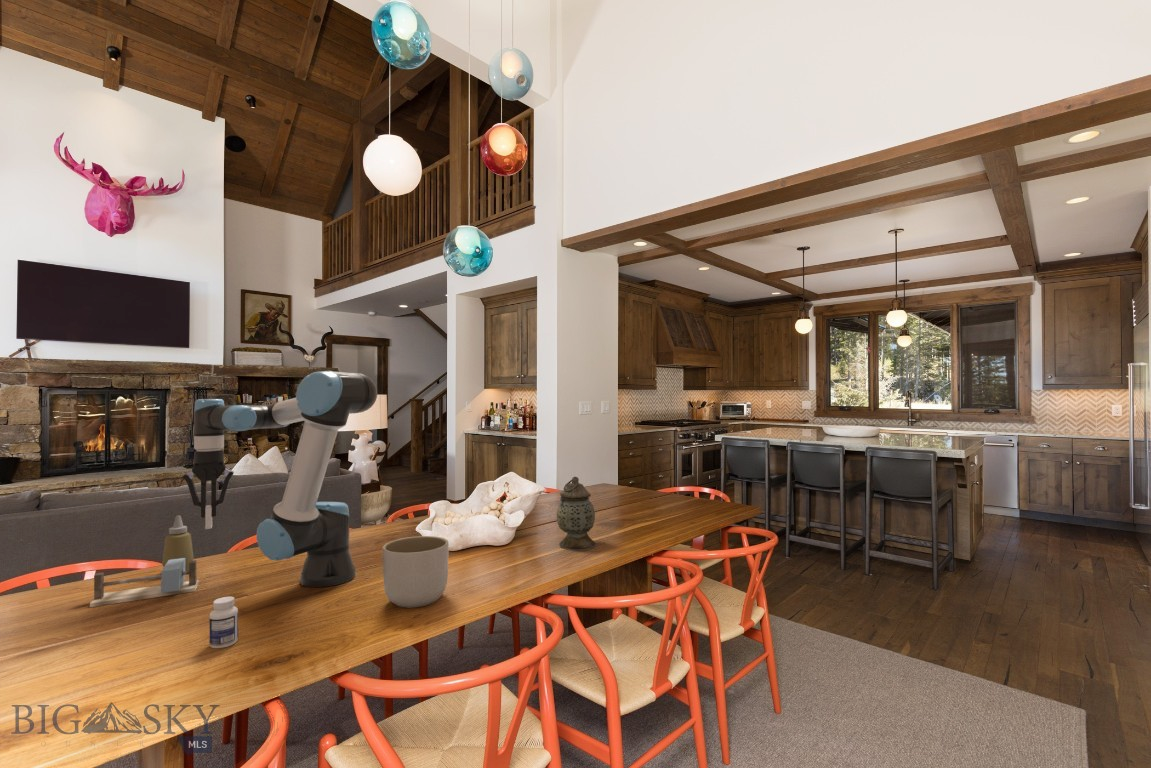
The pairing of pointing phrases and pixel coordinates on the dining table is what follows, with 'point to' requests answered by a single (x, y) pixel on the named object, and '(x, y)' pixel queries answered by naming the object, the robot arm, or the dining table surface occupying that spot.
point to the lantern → (575, 516)
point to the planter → (415, 570)
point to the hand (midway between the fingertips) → (208, 527)
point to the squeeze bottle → (178, 544)
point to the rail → (138, 593)
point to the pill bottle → (223, 623)
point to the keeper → (172, 575)
